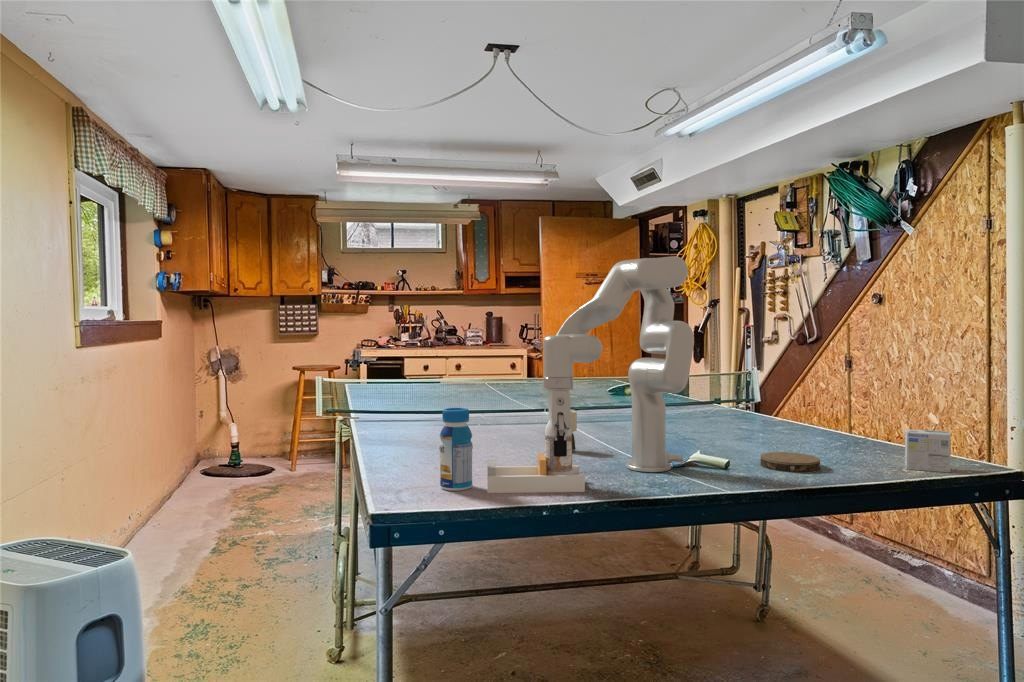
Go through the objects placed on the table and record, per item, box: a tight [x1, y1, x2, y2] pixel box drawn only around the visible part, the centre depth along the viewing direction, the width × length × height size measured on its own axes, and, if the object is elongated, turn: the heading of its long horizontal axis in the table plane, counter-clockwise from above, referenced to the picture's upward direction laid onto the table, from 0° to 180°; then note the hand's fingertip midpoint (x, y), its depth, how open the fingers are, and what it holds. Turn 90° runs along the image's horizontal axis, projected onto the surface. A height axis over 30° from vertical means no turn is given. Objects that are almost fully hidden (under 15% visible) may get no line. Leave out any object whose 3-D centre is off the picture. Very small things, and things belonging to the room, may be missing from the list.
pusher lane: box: [486, 459, 586, 494], centre depth 169 cm, size 24×12×6 cm, turn 92°
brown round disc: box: [760, 451, 821, 474], centre depth 191 cm, size 16×16×3 cm
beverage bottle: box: [438, 407, 474, 492], centre depth 168 cm, size 8×8×20 cm
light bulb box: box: [904, 428, 952, 473], centre depth 187 cm, size 11×7×11 cm, turn 65°
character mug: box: [571, 410, 578, 451], centre depth 215 cm, size 11×7×13 cm, turn 11°
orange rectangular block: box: [537, 452, 546, 475], centre depth 169 cm, size 2×9×6 cm, turn 1°
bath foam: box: [544, 401, 573, 475], centre depth 169 cm, size 7×7×20 cm
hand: (558, 452), depth 169 cm, fingers open, 7 cm apart
